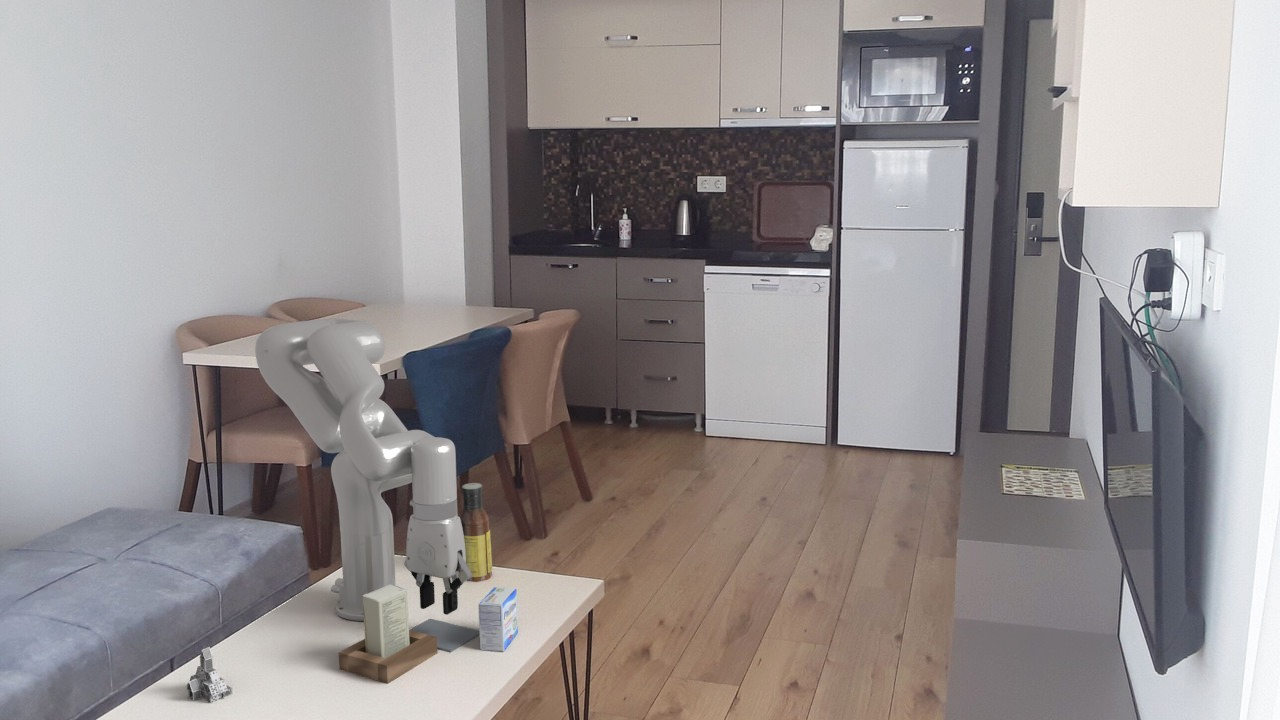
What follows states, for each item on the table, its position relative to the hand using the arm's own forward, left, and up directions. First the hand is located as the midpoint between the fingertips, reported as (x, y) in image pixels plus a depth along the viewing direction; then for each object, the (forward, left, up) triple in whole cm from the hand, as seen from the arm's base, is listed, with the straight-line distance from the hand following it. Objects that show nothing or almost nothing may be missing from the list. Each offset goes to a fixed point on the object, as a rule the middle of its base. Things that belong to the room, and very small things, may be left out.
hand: (439, 607), depth 185 cm
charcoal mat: (0, 0, -5) cm, 5 cm away
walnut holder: (-1, -12, -5) cm, 13 cm away
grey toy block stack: (-20, -36, -6) cm, 41 cm away
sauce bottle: (-11, +25, -5) cm, 28 cm away
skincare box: (-1, -12, -5) cm, 13 cm away
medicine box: (+11, +3, -6) cm, 12 cm away
